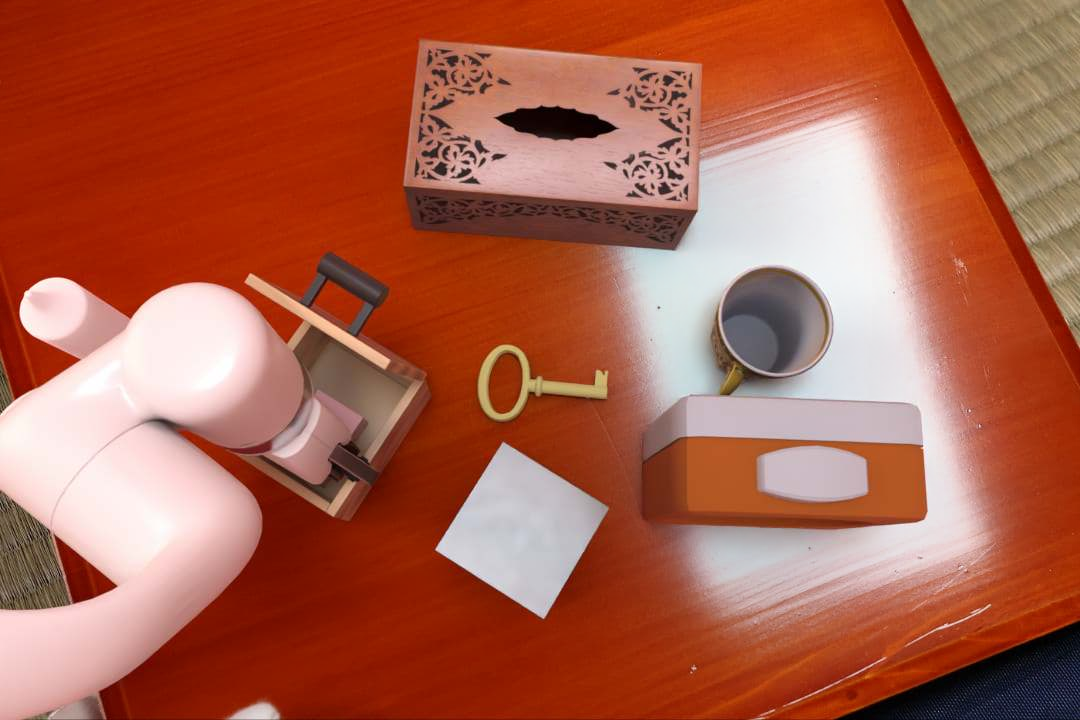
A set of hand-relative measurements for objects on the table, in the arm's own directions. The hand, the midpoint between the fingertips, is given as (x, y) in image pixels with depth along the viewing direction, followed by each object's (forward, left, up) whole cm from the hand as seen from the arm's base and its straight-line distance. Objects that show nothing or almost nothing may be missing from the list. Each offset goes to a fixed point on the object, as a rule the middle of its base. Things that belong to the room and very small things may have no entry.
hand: (304, 437), depth 72 cm
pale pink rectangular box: (+1, 0, -6) cm, 7 cm away
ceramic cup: (+37, -16, -7) cm, 41 cm away
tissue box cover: (+34, +10, -7) cm, 36 cm away
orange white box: (+30, -25, -7) cm, 39 cm away
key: (+20, -7, -7) cm, 22 cm away
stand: (+10, -17, -7) cm, 21 cm away
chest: (+3, +1, -7) cm, 8 cm away
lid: (+7, +3, +8) cm, 11 cm away
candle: (-7, +14, -7) cm, 18 cm away
